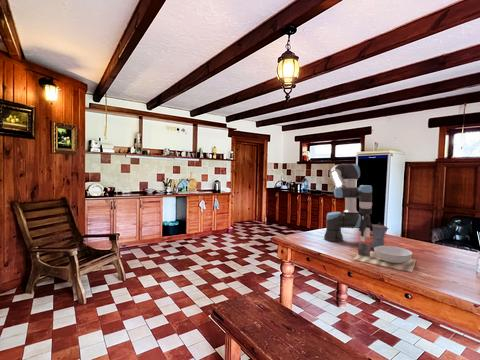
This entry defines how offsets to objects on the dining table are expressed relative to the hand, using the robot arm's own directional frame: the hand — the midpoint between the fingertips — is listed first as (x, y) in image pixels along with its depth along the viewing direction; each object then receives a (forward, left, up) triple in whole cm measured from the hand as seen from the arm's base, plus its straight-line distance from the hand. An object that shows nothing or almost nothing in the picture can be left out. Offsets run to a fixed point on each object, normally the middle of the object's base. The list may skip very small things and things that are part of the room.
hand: (365, 239), depth 171 cm
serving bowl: (+16, 0, -12) cm, 20 cm away
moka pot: (+2, +25, -12) cm, 28 cm away
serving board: (+12, 0, -12) cm, 17 cm away
